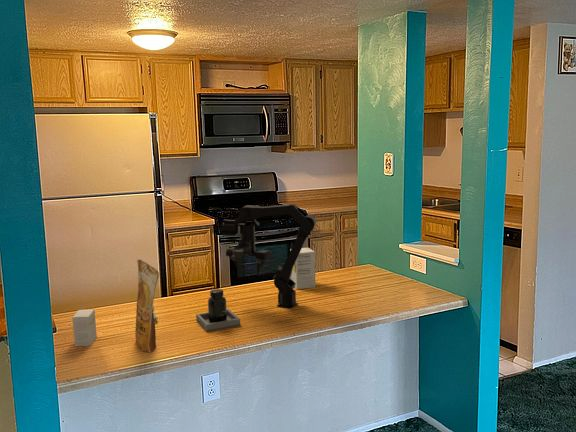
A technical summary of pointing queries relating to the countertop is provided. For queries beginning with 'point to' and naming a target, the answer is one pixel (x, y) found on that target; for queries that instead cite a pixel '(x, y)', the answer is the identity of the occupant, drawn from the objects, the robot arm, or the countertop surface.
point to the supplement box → (304, 269)
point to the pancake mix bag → (146, 306)
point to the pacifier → (154, 314)
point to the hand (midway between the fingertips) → (248, 273)
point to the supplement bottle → (217, 306)
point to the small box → (84, 327)
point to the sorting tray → (230, 322)
